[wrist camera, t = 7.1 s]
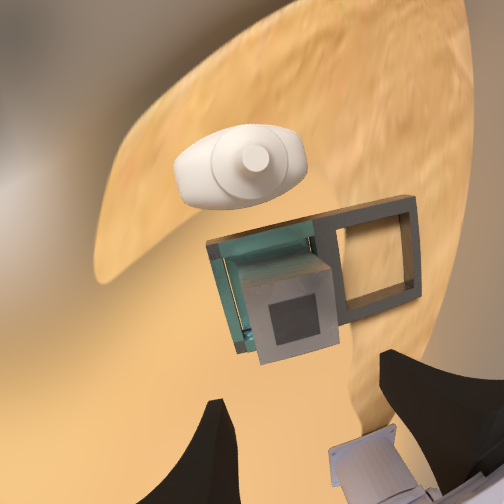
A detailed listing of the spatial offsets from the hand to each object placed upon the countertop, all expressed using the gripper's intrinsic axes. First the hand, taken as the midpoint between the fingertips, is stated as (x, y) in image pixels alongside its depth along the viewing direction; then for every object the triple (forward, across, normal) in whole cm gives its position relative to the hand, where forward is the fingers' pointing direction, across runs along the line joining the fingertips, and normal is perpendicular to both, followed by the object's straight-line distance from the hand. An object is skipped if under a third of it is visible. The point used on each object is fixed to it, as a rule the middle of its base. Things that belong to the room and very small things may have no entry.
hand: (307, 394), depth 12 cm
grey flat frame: (+10, -4, -2) cm, 11 cm away
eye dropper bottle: (+10, 0, -10) cm, 14 cm away
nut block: (+10, -1, -2) cm, 10 cm away
